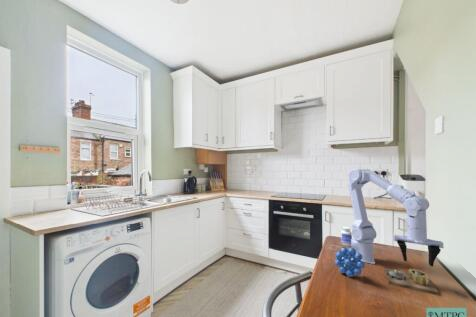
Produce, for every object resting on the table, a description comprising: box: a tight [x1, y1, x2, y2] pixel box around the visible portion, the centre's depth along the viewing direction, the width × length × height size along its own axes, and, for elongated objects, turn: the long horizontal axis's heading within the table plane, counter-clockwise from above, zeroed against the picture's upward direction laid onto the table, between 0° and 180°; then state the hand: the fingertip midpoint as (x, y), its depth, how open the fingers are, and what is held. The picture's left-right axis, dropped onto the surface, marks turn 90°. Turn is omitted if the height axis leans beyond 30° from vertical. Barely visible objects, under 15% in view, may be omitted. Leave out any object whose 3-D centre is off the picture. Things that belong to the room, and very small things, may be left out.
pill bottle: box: [340, 226, 353, 247], centre depth 118 cm, size 5×5×10 cm
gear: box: [407, 268, 430, 285], centre depth 78 cm, size 6×7×3 cm
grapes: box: [334, 246, 366, 278], centre depth 83 cm, size 12×7×12 cm, turn 39°
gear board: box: [383, 267, 439, 296], centre depth 79 cm, size 14×12×4 cm
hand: (417, 262), depth 78 cm, fingers open, 7 cm apart
